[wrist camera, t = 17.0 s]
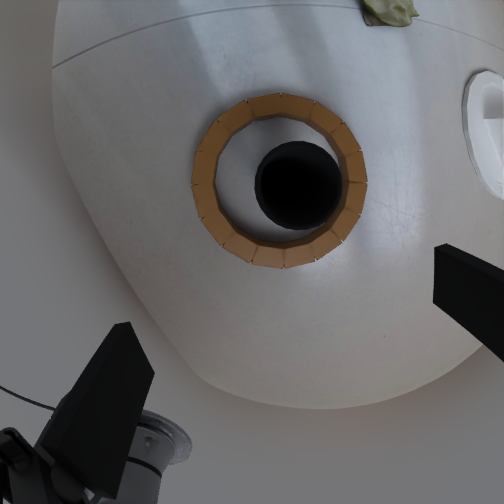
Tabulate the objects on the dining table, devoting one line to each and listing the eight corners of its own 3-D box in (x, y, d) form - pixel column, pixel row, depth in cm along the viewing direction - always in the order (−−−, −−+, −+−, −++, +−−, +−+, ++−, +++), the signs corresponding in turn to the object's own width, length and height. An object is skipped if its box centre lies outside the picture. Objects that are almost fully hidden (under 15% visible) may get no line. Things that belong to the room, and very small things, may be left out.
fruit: (339, -6, 27) (356, -37, 19) (385, -1, 28) (405, -27, 20) (367, 34, 28) (391, 4, 20) (412, 37, 28) (438, 13, 21)
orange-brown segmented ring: (219, 275, 38) (217, 284, 35) (179, 120, 32) (174, 117, 29) (367, 240, 37) (375, 246, 35) (339, 90, 31) (346, 85, 29)
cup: (319, 166, 34) (356, 167, 23) (294, 219, 36) (319, 244, 25) (264, 139, 33) (277, 125, 22) (239, 194, 35) (239, 208, 23)
